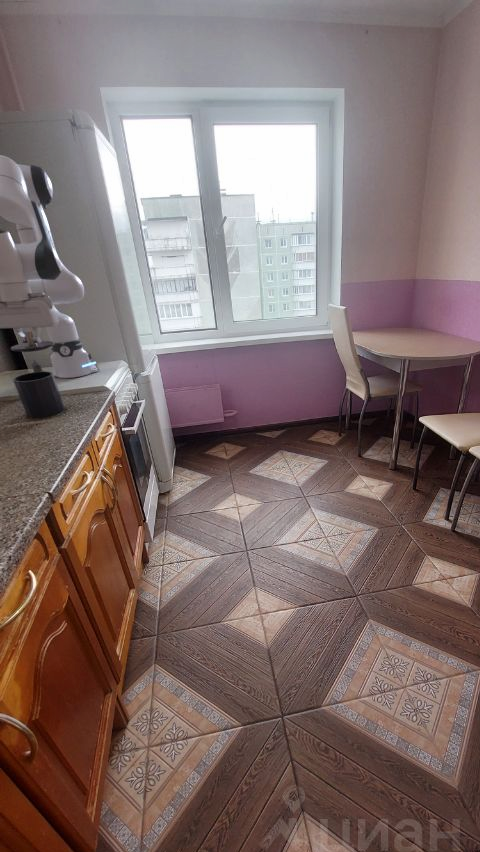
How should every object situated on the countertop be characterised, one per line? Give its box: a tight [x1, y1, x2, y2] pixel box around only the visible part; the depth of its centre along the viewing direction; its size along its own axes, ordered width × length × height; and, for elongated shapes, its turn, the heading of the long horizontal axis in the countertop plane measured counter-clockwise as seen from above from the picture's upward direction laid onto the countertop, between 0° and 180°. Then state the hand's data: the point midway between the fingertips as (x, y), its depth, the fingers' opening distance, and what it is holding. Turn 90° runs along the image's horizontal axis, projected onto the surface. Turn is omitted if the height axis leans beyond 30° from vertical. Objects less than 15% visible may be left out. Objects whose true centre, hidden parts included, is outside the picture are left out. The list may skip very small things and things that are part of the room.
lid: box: [10, 330, 55, 353], centre depth 119 cm, size 12×12×5 cm
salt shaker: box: [31, 359, 43, 372], centre depth 145 cm, size 6×6×12 cm
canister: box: [12, 370, 66, 419], centre depth 124 cm, size 11×11×12 cm
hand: (31, 342), depth 120 cm, fingers closed on lid, 2 cm apart
